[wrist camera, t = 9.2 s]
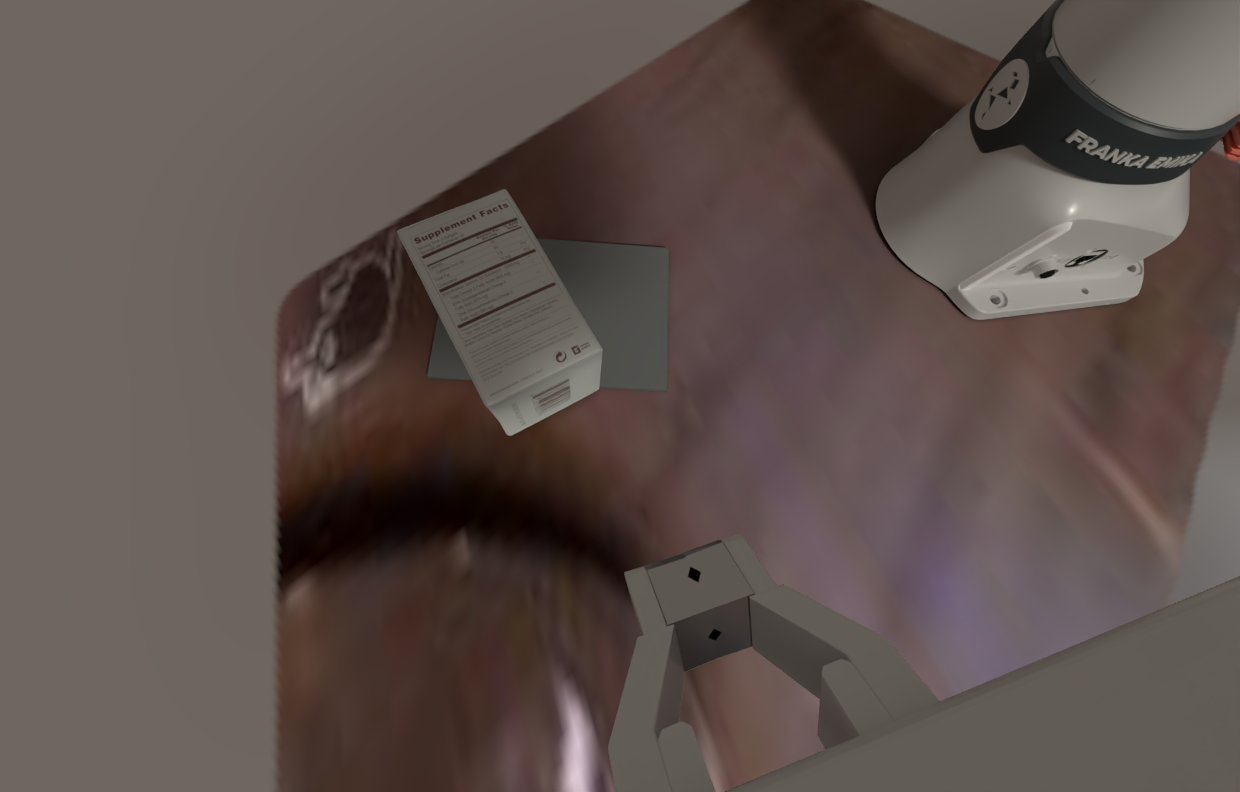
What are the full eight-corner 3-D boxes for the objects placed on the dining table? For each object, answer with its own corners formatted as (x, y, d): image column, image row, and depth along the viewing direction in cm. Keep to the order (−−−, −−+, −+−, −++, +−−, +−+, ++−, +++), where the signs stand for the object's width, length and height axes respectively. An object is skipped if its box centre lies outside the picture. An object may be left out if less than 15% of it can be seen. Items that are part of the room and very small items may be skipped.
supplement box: (507, 439, 30) (433, 294, 33) (602, 390, 32) (524, 255, 35) (481, 409, 23) (391, 228, 26) (605, 347, 25) (506, 183, 28)
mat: (667, 250, 36) (668, 247, 36) (666, 391, 33) (667, 390, 32) (454, 235, 36) (453, 232, 35) (428, 377, 32) (426, 375, 31)
